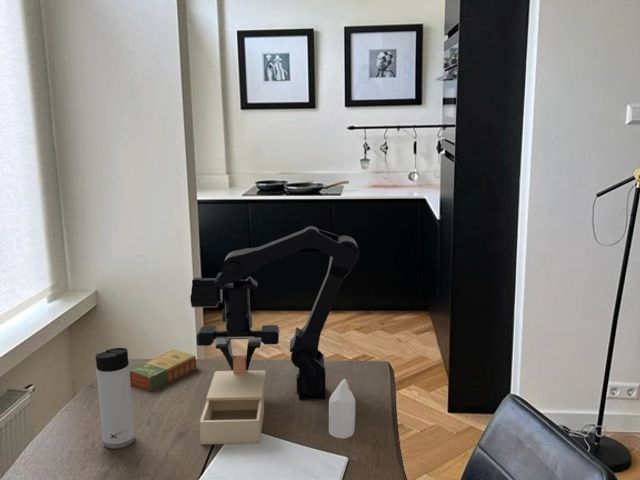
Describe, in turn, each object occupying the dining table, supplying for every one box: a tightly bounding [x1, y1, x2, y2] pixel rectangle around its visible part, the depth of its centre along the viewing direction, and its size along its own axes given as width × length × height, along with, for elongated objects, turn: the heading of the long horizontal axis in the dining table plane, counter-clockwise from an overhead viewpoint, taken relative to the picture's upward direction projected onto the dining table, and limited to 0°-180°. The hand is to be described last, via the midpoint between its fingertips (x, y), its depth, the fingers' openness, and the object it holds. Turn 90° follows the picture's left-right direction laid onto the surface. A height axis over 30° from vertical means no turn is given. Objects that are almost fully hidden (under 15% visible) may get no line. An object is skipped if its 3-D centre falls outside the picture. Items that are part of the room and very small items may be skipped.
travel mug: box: [95, 347, 136, 450], centre depth 128 cm, size 6×7×20 cm
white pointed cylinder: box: [328, 378, 356, 440], centre depth 131 cm, size 6×12×6 cm
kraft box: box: [199, 389, 265, 446], centre depth 135 cm, size 12×14×5 cm
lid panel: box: [205, 354, 267, 402], centre depth 142 cm, size 12×14×5 cm
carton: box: [129, 349, 197, 392], centre depth 161 cm, size 8×16×4 cm, turn 147°
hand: (240, 369), depth 148 cm, fingers closed on lid panel, 3 cm apart
